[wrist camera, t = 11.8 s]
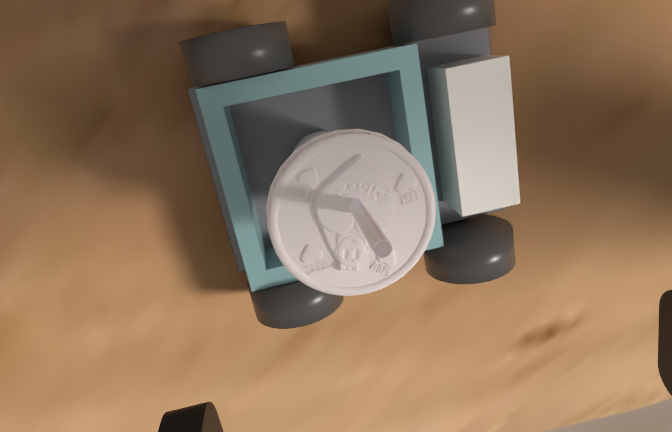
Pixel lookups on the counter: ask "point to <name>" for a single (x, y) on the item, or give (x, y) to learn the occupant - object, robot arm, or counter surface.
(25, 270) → the counter surface
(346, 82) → the chassis
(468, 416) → the counter surface
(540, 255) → the counter surface
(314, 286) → the smoothie
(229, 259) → the counter surface
